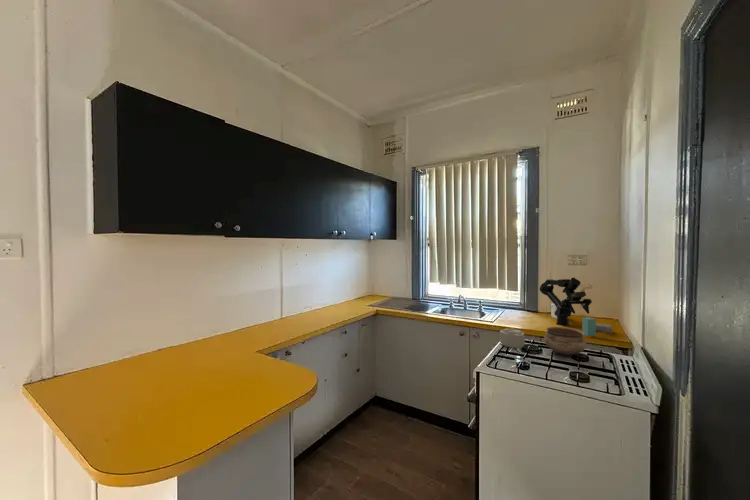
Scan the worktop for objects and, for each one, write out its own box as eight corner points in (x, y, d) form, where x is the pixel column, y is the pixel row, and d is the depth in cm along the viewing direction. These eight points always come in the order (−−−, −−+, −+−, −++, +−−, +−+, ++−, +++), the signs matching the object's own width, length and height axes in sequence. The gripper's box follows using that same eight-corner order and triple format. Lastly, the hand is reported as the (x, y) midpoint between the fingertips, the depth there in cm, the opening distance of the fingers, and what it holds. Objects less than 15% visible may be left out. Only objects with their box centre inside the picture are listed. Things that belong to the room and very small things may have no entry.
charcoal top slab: (593, 328, 207) (593, 324, 207) (597, 326, 212) (597, 323, 212) (607, 331, 201) (607, 327, 201) (611, 329, 206) (611, 325, 206)
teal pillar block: (582, 334, 200) (582, 317, 200) (589, 334, 200) (590, 317, 200) (587, 336, 195) (587, 319, 195) (595, 336, 195) (595, 319, 195)
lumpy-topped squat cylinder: (522, 349, 173) (522, 333, 173) (498, 345, 180) (498, 330, 180) (525, 343, 182) (525, 329, 182) (501, 340, 189) (501, 326, 189)
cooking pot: (584, 365, 149) (585, 340, 149) (540, 356, 160) (540, 333, 160) (586, 350, 169) (587, 328, 169) (547, 344, 181) (547, 323, 180)
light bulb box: (567, 320, 238) (567, 306, 238) (558, 319, 238) (558, 306, 238) (559, 316, 249) (559, 303, 249) (550, 316, 249) (550, 303, 249)
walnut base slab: (590, 332, 207) (590, 328, 207) (595, 329, 213) (595, 326, 213) (608, 335, 199) (609, 331, 199) (613, 332, 206) (613, 329, 206)
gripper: (562, 287, 209) (573, 306, 198) (590, 287, 210) (602, 306, 199) (555, 296, 217) (565, 316, 206) (582, 296, 218) (593, 315, 207)
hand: (581, 313), depth 204 cm, fingers open, 9 cm apart
